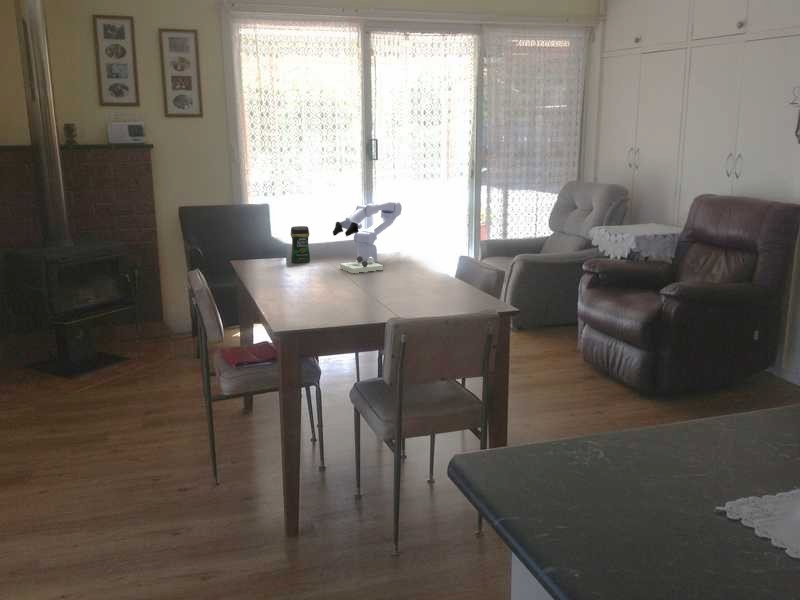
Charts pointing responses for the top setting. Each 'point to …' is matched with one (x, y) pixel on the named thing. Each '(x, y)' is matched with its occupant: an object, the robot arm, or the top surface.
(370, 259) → the steel ball
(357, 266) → the sage board
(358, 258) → the black rubber ball
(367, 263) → the black rubber ball
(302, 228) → the coffee jar
